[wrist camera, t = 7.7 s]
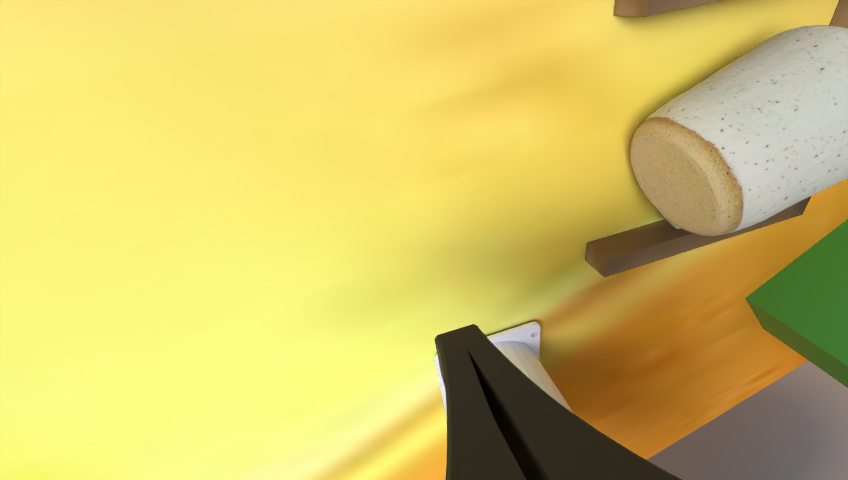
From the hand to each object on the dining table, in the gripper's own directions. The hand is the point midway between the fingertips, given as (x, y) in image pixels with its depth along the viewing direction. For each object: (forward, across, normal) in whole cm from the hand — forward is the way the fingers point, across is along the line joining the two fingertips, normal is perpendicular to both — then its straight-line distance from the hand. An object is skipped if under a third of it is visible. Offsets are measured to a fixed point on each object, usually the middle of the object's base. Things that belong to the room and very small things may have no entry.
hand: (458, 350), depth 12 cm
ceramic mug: (+10, -18, 0) cm, 20 cm away
